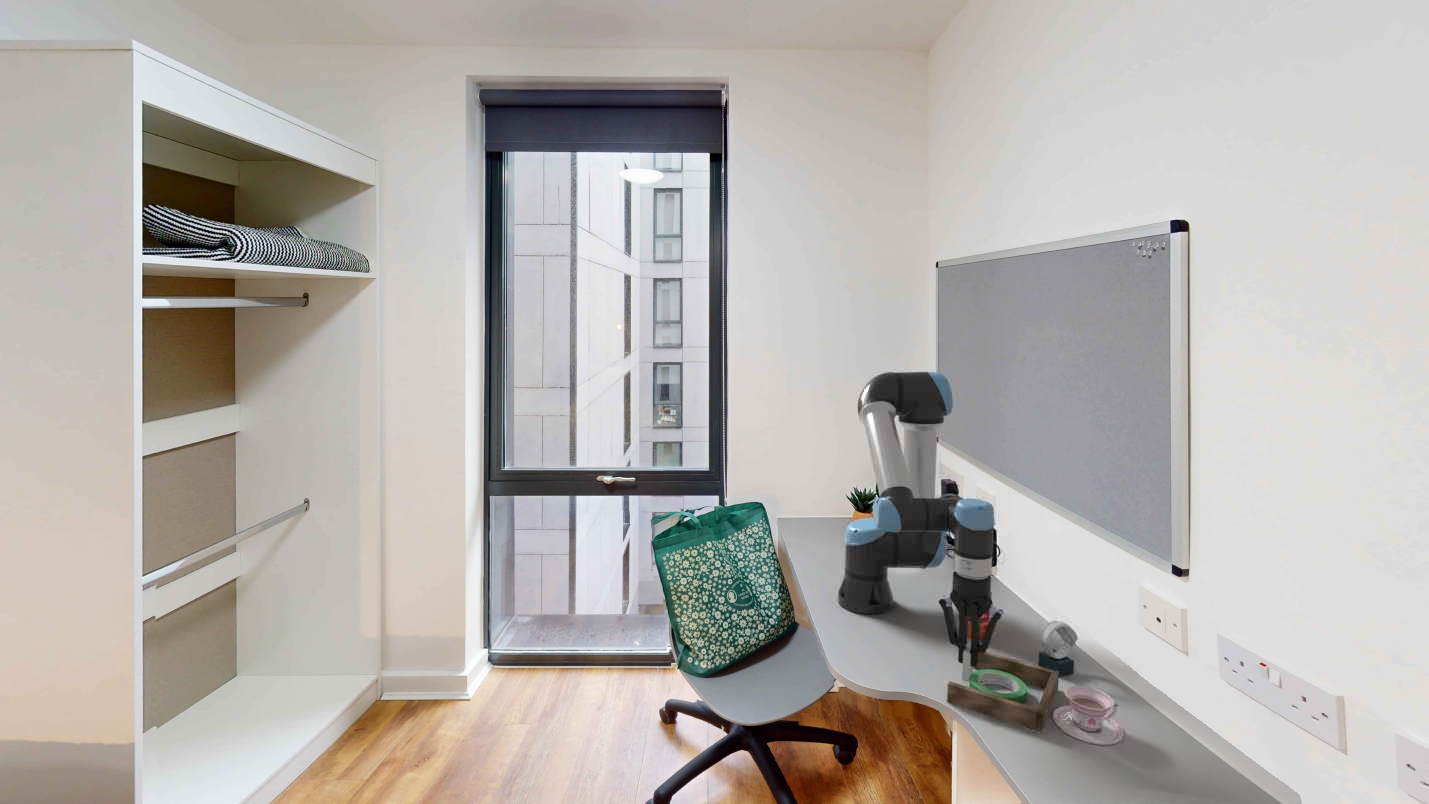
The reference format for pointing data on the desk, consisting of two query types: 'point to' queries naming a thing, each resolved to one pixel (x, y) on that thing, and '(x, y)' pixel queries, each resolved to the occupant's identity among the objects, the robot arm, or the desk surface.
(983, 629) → the paper cup
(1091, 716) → the teacup
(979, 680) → the tape roll
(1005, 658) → the u-shaped wooden frame
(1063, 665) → the watch
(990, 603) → the robot arm
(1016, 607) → the desk surface
